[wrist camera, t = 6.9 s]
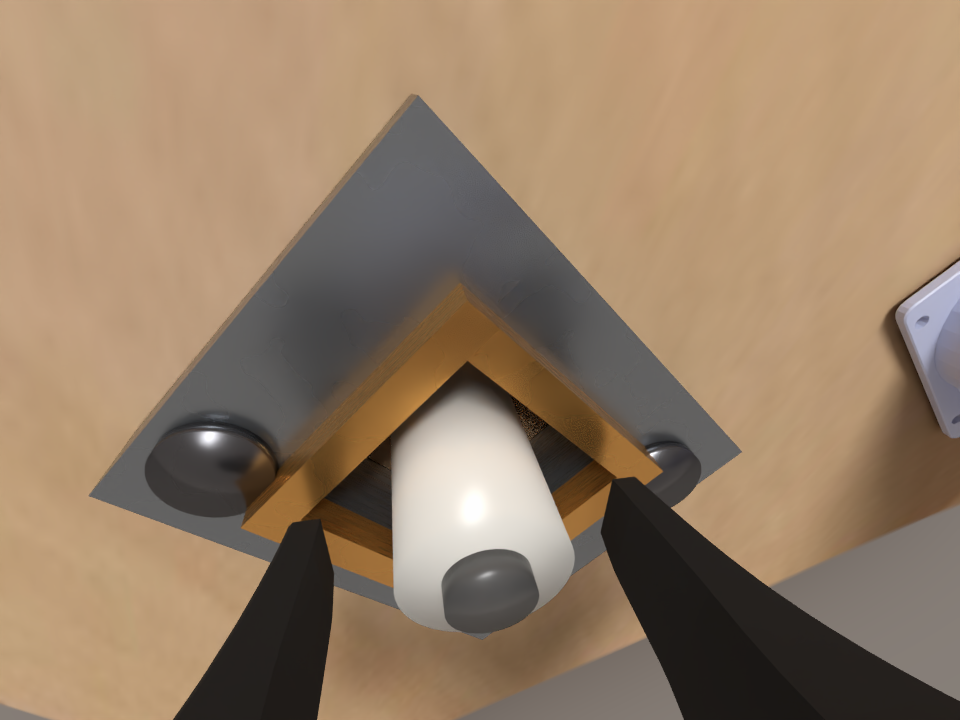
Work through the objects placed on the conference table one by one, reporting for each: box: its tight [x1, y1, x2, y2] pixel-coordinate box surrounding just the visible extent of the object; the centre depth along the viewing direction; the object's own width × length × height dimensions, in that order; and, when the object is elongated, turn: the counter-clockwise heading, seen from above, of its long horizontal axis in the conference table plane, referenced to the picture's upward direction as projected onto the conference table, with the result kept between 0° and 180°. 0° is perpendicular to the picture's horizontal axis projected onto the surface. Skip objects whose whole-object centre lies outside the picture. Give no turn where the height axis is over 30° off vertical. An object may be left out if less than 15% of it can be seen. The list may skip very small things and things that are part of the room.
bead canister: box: [391, 361, 575, 634], centre depth 12 cm, size 4×4×7 cm
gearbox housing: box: [89, 94, 742, 640], centre depth 13 cm, size 14×12×4 cm
